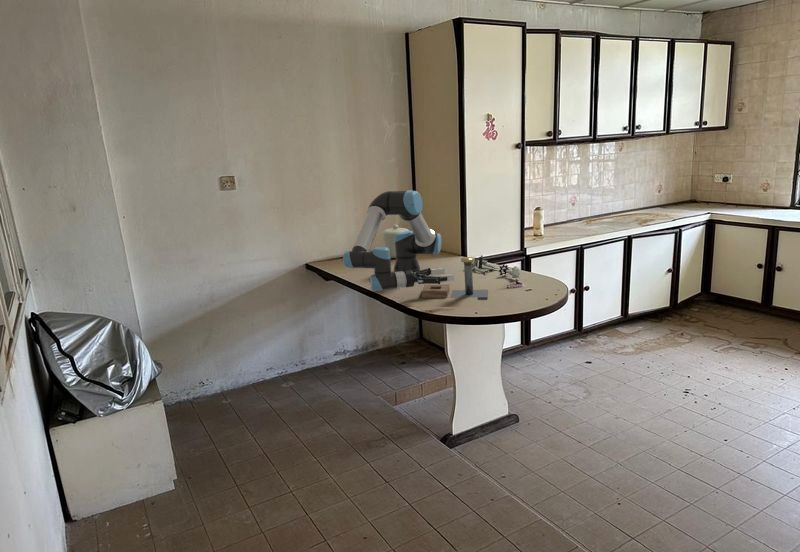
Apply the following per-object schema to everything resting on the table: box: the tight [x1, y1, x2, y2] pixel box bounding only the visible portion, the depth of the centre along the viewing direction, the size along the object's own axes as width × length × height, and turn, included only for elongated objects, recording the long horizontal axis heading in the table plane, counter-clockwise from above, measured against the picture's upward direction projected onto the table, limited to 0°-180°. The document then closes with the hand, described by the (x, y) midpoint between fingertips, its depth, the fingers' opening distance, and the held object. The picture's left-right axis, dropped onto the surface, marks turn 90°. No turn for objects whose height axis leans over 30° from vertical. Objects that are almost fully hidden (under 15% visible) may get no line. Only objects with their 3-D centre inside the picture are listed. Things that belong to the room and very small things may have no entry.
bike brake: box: [472, 255, 499, 275], centre depth 311 cm, size 14×7×20 cm
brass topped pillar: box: [460, 256, 476, 295], centre depth 262 cm, size 6×6×17 cm
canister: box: [381, 224, 411, 259], centre depth 360 cm, size 18×18×21 cm
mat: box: [450, 289, 489, 300], centre depth 265 cm, size 13×17×1 cm
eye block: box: [421, 283, 450, 299], centre depth 268 cm, size 12×12×4 cm
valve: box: [497, 263, 521, 279], centre depth 292 cm, size 7×7×12 cm
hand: (448, 274), depth 260 cm, fingers open, 13 cm apart
